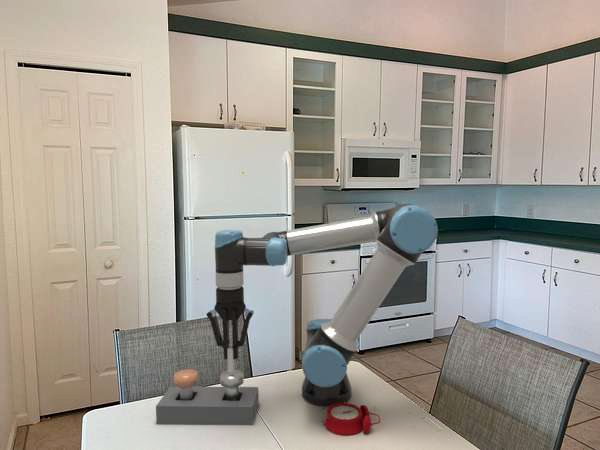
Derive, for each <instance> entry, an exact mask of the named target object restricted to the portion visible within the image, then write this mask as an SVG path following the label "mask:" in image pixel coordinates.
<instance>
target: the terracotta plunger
mask: <svg viewBox="0 0 600 450" xmlns="http://www.w3.org/2000/svg"><path fill="white" fill-rule="evenodd" d="M198 378H199V377H198V371H197V370H195V369H192V368H191V369H186V368H185V369H181V370H178V371H177V372H176V371H175V372H174V374H173V385H174V387H179V389H180V400H193V387H194V385H197V383H198V381H199V379H198Z"/></svg>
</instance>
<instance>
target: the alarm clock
mask: <svg viewBox="0 0 600 450" xmlns="http://www.w3.org/2000/svg"><path fill="white" fill-rule="evenodd" d="M321 407H322V408H321V409H322V410H325V411H326V418H325V420H321V423H323V426H324V427H325V429H327V431H329V432H331V433H332V434H336V435H339V436H353V435H357V434H359V433H361V432H363V433H364V434H368V433H369V432H370V430H371V427H372V426H374V425H377V424H380V422H381V417H380V416H379V415H378V414H376V413H372V412H370V410H369V408H368V406H366V405H363V404H362V405H360V407H359V406H357V405H356V404H352V403H348V402H345V403H337V404H334V405H331V406H328V407H327V408H325V407H324V406H321ZM370 415H374V416H377V417H378V422H372V419H371V417H370Z"/></svg>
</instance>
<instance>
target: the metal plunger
mask: <svg viewBox="0 0 600 450" xmlns="http://www.w3.org/2000/svg"><path fill="white" fill-rule="evenodd" d="M244 378H245V377H244V372H243V370H239V369H234V372H228V369H227V370H224V371H222V372H220V375H219V381H220V382H219V383H220V384H219V385H220V386H221V387H226V401H238V400H239V387H241V386H242V385H243V384H244Z"/></svg>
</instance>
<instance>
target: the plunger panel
mask: <svg viewBox="0 0 600 450" xmlns="http://www.w3.org/2000/svg"><path fill="white" fill-rule="evenodd" d="M259 400H260V399H259V387H258V386H239V400H238V401H226V387H223V386H193V400H180V389H179V387H177V386H169V387H168V389H167V391H166V392H165V393H164V395H162V397H161V399H160V400H159V401H158V402H157V404H156V405H155V417H156V418H155V420H156V425H200V426H201V425H204V426H205V425H207V426H208V425H214V426H215V425H216V426H218V425H222V426H223V425H224V426H228V425H229V426H253V425H254V422H255V418H256V414H257V410H258V408H259V403H260V402H259Z"/></svg>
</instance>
